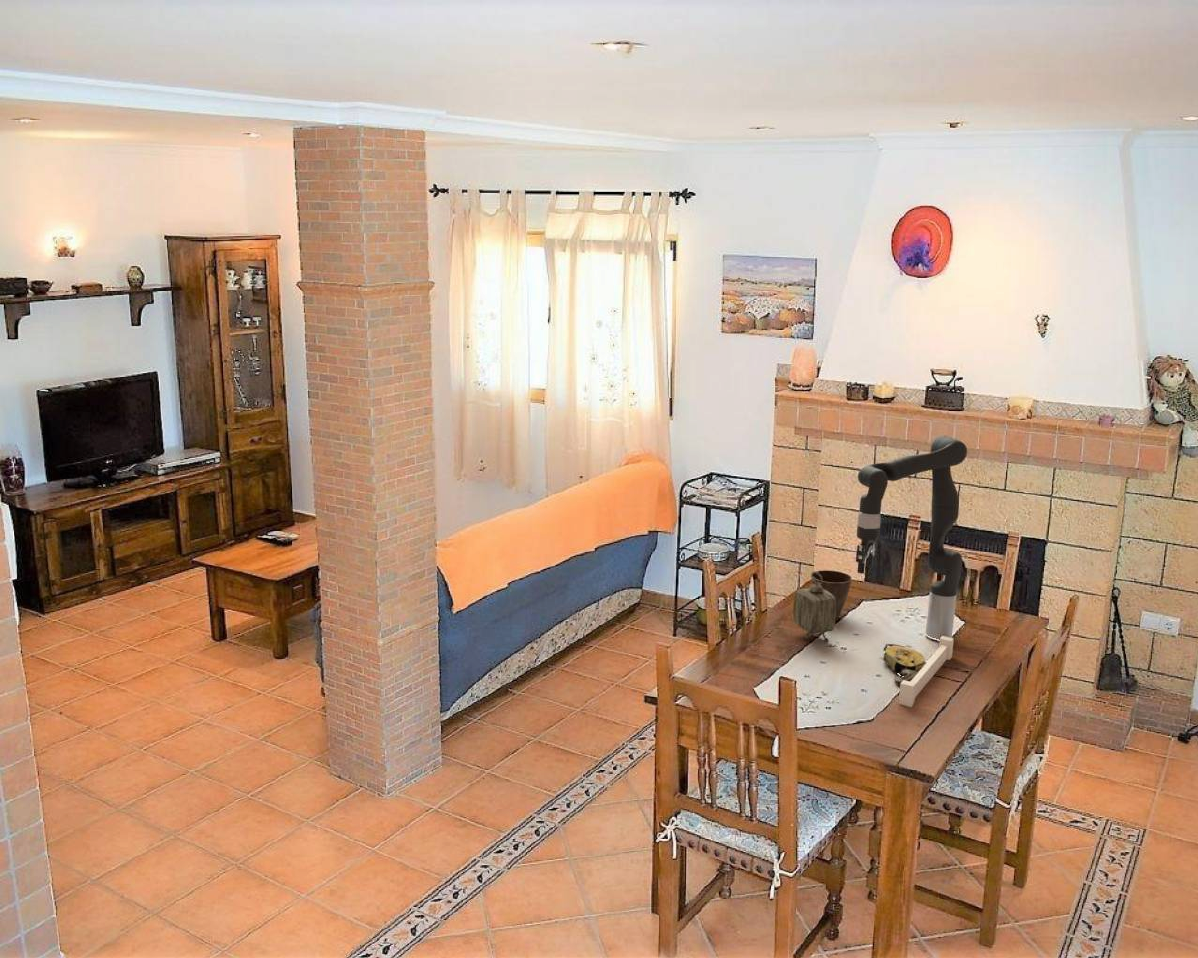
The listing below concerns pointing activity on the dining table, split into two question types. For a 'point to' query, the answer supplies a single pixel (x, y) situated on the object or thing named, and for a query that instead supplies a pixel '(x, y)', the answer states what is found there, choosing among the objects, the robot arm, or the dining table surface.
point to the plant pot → (835, 586)
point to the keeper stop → (925, 672)
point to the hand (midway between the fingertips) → (864, 569)
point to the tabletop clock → (815, 609)
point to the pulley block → (903, 661)
